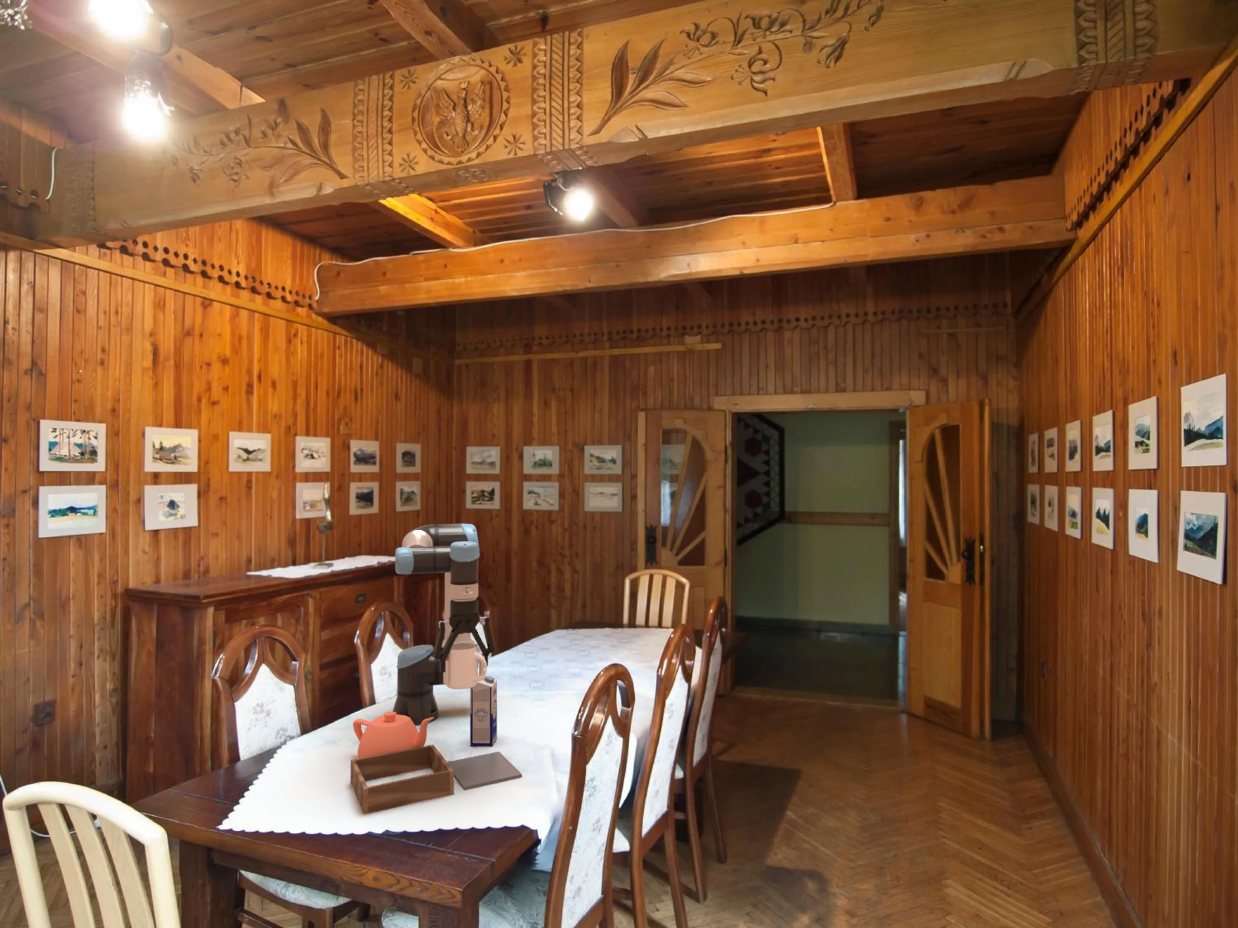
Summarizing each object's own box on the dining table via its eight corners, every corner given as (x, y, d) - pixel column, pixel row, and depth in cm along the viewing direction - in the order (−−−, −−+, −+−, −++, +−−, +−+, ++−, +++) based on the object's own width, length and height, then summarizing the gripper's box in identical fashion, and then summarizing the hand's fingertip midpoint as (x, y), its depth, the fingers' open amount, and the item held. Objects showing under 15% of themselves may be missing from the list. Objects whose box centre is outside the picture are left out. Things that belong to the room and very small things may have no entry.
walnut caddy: (350, 782, 190) (350, 759, 190) (433, 765, 201) (433, 744, 201) (363, 814, 173) (363, 789, 173) (453, 793, 184) (453, 770, 184)
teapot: (446, 752, 211) (446, 706, 211) (419, 775, 195) (419, 726, 195) (368, 745, 216) (369, 700, 216) (336, 768, 200) (336, 719, 200)
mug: (478, 692, 190) (478, 652, 190) (439, 688, 194) (439, 648, 194) (494, 683, 198) (494, 644, 198) (456, 679, 202) (456, 641, 202)
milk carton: (475, 737, 222) (475, 673, 222) (497, 737, 222) (497, 673, 222) (469, 746, 215) (470, 679, 215) (492, 746, 215) (492, 679, 215)
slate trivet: (444, 764, 202) (444, 762, 202) (499, 753, 209) (499, 751, 209) (464, 789, 186) (464, 786, 186) (522, 776, 194) (522, 773, 194)
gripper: (426, 604, 187) (426, 690, 187) (507, 597, 197) (507, 679, 197) (420, 599, 194) (420, 683, 194) (498, 593, 204) (498, 672, 204)
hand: (464, 681), depth 195 cm, fingers closed on mug, 9 cm apart
